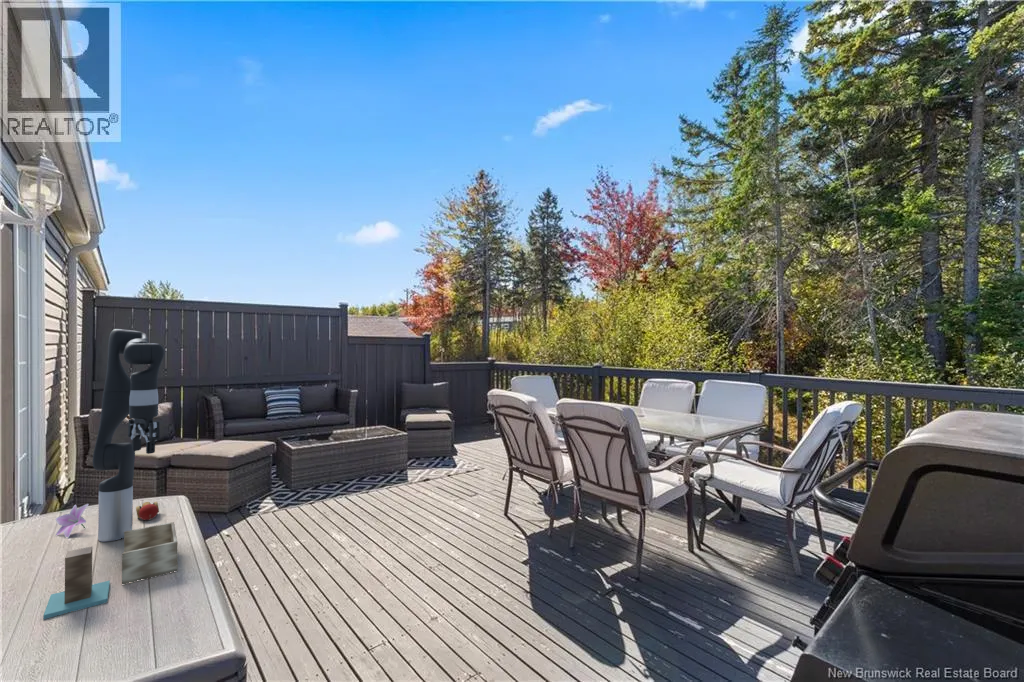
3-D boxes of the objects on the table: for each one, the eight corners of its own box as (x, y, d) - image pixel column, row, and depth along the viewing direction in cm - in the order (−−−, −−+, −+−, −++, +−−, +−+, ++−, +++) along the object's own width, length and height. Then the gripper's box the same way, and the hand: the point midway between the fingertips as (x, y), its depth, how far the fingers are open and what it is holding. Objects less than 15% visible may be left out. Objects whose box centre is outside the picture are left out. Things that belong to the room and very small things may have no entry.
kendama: (131, 515, 187) (134, 521, 173) (135, 498, 188) (138, 504, 175) (155, 514, 191) (159, 520, 178) (158, 498, 193) (163, 503, 180)
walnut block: (64, 604, 119) (65, 558, 119) (66, 595, 123) (67, 551, 123) (90, 597, 122) (91, 552, 122) (91, 589, 126) (92, 546, 126)
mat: (43, 619, 114) (43, 615, 114) (50, 598, 124) (50, 594, 124) (107, 602, 122) (107, 598, 122) (109, 583, 131) (109, 580, 131)
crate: (121, 585, 130) (122, 553, 130) (124, 559, 146) (124, 531, 146) (177, 571, 138) (177, 541, 138) (173, 548, 154) (174, 521, 154)
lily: (56, 532, 168) (43, 515, 163) (96, 512, 176) (84, 495, 171) (63, 551, 161) (49, 533, 157) (104, 529, 169) (92, 512, 164)
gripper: (168, 403, 152) (168, 451, 152) (145, 400, 158) (144, 447, 158) (142, 406, 145) (141, 456, 145) (119, 403, 151) (118, 451, 151)
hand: (143, 451), depth 151 cm, fingers open, 8 cm apart
